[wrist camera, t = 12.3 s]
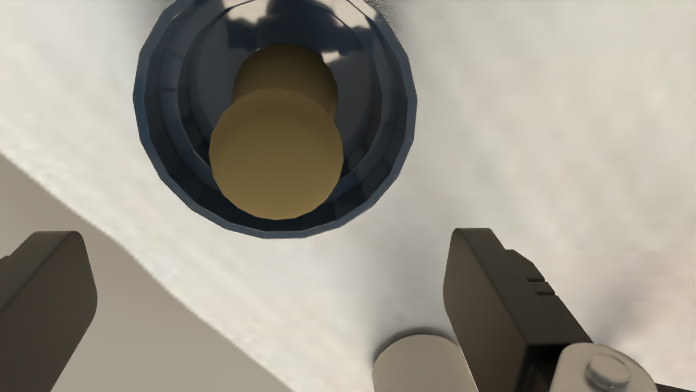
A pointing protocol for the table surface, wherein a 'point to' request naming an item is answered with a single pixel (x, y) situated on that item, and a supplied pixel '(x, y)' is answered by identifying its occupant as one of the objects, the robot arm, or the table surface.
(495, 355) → the robot arm
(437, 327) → the table surface
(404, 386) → the can
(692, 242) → the table surface
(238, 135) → the cork
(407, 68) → the bowl
